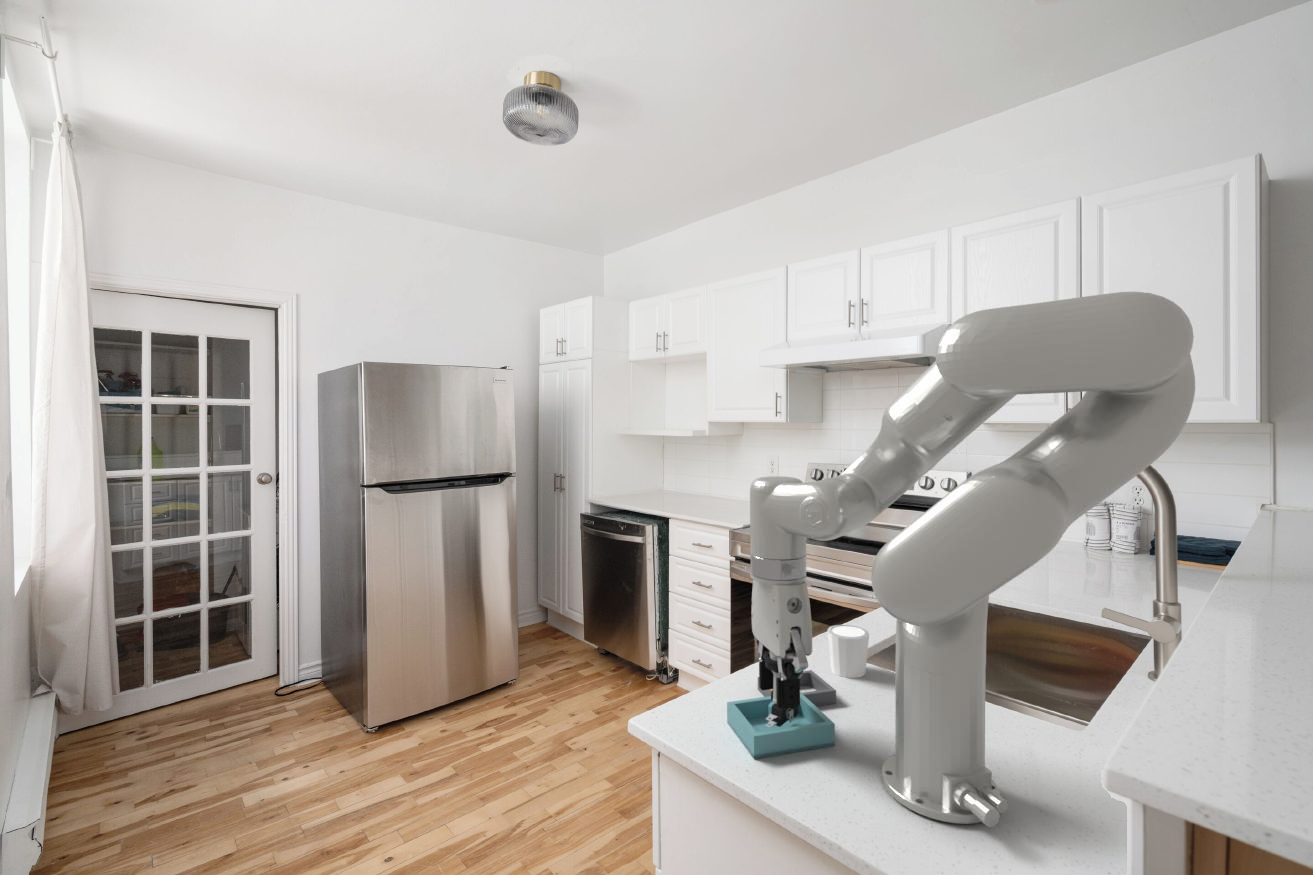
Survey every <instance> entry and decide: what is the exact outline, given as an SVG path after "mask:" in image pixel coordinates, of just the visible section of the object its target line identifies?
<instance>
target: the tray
mask: <svg viewBox="0 0 1313 875" xmlns="http://www.w3.org/2000/svg"><path fill="white" fill-rule="evenodd" d="M802 693H803V692H801V691H800V705H799V706H798V715H797V716H796V717H793V721H792V722H789V720H788V721H787V722H785V723H784V724H783V725H782V726H780V727H778V726H776V725H774V726H772V727H771V728H769V727H766V724H768V723H769V722H768V720H766V718H767V717H768V705H769V704H770V703H771V702H772V701H771V696H768V697H764V696H761V697H756V698H746V699H740V700H734V701H728V702H726V714H727V715H726V717H727V718H726V719H727V720H726V722H727V723H726V724H728V726H729V727H730V729H731V730H732V731H733V732H734V734H735V736H737V738H738V739H739V741H740V742H741V743H742V745H743V746H744V748H745V749H746V750H747V752H748V753H749V754H750V756H751V757H752V759H754V760H757V759H763V758H770V757H775V756H780V755H788V754H794V753H799V752H806V751H812V750H818V749H822V748H830V747H834V746H836V742H835V741H836V740H835V738H836V737H835V735H836V734H835V733H836V732H835V731H836V729H835V728H836V727H835V725H836V724H835V723H834V722H833V721H832V720H831V718H829V717H828V716H827V715H826V714H825V713H824V712H822V711H821V709H819V707H818V706H815V705H814V704H813V703H812V702H811V701H809V700H808V699H807V698H806V697H805V696H804V695H803V694H802ZM791 719H792V718H791ZM769 726H771V725H769Z"/></svg>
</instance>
